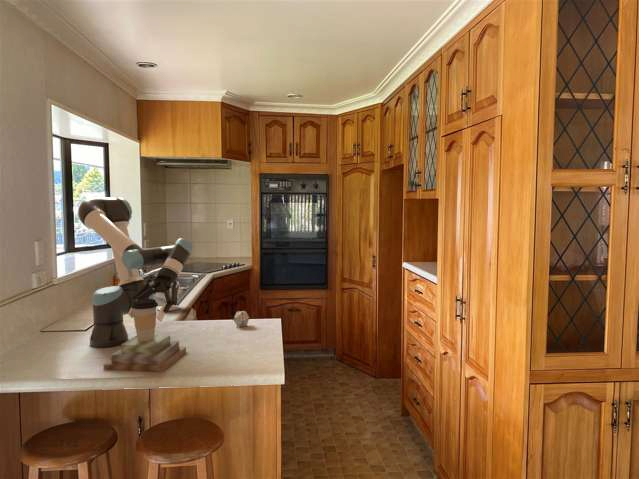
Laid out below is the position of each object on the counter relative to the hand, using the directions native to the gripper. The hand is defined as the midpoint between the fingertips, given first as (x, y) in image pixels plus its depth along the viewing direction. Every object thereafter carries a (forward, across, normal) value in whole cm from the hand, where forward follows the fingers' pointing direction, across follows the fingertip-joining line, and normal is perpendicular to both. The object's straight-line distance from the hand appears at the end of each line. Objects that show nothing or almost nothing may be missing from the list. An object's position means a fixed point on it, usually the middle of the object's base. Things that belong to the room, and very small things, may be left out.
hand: (144, 317), depth 175 cm
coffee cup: (+6, 0, -7) cm, 9 cm away
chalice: (-38, +49, -63) cm, 89 cm away
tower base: (+11, 0, -13) cm, 17 cm away
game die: (-27, -8, -52) cm, 59 cm away
